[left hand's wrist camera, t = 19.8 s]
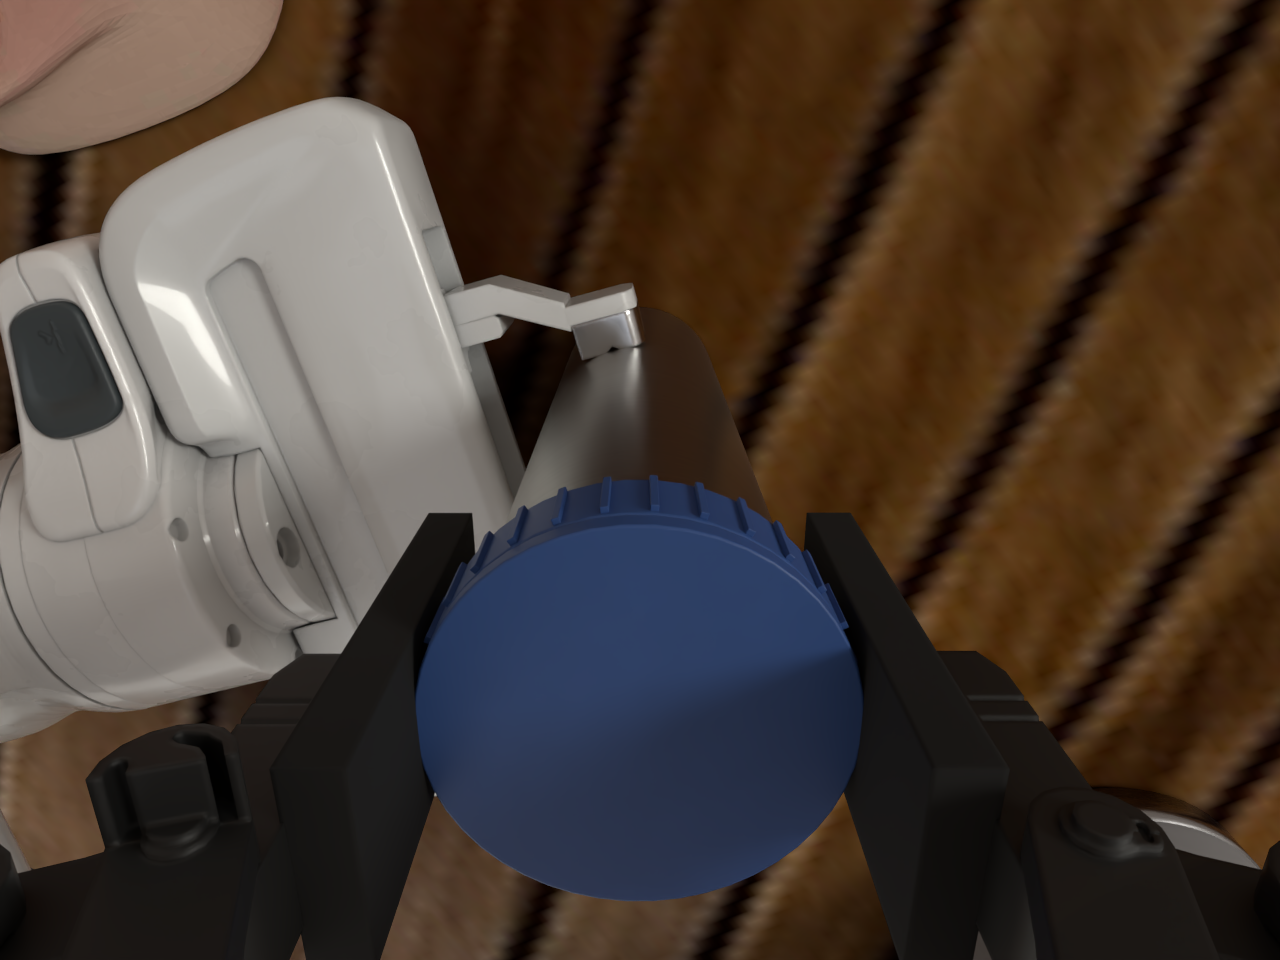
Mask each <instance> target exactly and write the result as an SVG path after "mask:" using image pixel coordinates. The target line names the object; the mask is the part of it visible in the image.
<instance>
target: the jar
mask: <svg viewBox="0 0 1280 960" xmlns="http://www.w3.org/2000/svg"><path fill="white" fill-rule="evenodd" d="M639 309H640V313H641V317H642V321H643V325H644V329H645V334H646V336H645V337H646V341H645V342H643V343H642V344H640V345H637V346H634V347H629V348H623V349H618V348H615V347H613V346H612V347H611V348H610V350H609V351H608V352H607V353H604V354H602V355H600V356H597V357H593V358H589V359H586V360H582V359H581V356H580V353H579V350H578V347H577V343H576V344H575V346H574V348H573V350H572V352H571V354H570V357H569V360H568V362H567V365H566V367H565V370H564V373H563V375H562V378H561V380H560V383H559V386H558V388H557V391H556V393H555V396H554V399H553V401H552V404H551V406H550V409H549V412H548V414H547V417H546V419H545V422H544V425H543V427H542V430H541V432H540V435H539V438H538V440H537V443H536V445H535V448H534V450H533V453H532V456H531V458H530V461H529V463H528V466H527V469H526V471H525V474H524V476H523V479H522V482H521V484H520V487H519V489H518V492H517V495H516V497H515V500H514V502H513V505H512V508H511V510H510V513H509V515H508V518H507V521H506V523H508V522H509V521H511V520H512V519H513V518H515V516H516V514H517V511H518V508H520V507H522V506H523V505H525V506H526V508H527V509H529V508H531V507H533V506H534V505H536V504H538V503H540V502H542V501H544V500H546V499H548V498H551V497H554V496H556V495H557V493H558V489H560V488H562V487H566V489H567V491H569V490H572V489H576V488H580V487H584V486H588V485H592V484H596V483H603V477H611V480H612V481H620V480H649V477H650V475H657V476H658V481H667V482H675V483H682V484H686V485H690V486H695V483H696V482H700V483H703V485H704V489H706V490H709V491H712V492H714V493H717V494H720V495H722V496H725V497H727V498H730V499H732V500H735V501H737V499H738V497H740V498H742V499H744V500H745V501H746V504H747V507H748V508H749V509H751V510H753V511H755V512H757V513H758V514H760V515H761V516H762V517H764V518H765V519H766V520H768V521H769V522H770V523H772V524H773V522H772V519H771V517H770V514H769V512H768V509H767V506H766V504H765V501H764V499H763V496H762V493H761V491H760V488H759V486H758V483H757V480H756V478H755V475H754V473H753V470H752V467H751V465H750V462H749V460H748V457H747V455H746V452H745V449H744V447H743V444H742V442H741V439H740V436H739V434H738V431H737V429H736V426H735V423H734V421H733V418H732V416H731V413H730V410H729V408H728V405H727V403H726V400H725V397H724V395H723V392H722V390H721V387H720V384H719V382H718V379H717V377H716V374H715V371H714V369H713V366H712V364H711V361H710V358H709V356H708V353H707V351H706V349H705V347H704V345H703V343H702V341H701V340H700V338H699V337H698V336H697V335H696V333H695V332H694V331H693V330H692V329H691V328H690V327H689V326H688V325H687V324H686V323H684V322H683V321H681V320H680V319H679V318H677V317H675V316H673V315H671V314H669V313H666V312H664V311H661V310H657V309H653V308H644V307H639ZM506 523H505V524H506Z"/></svg>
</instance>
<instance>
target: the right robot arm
mask: <svg viewBox="0 0 1280 960" xmlns="http://www.w3.org/2000/svg"><path fill="white" fill-rule="evenodd" d="M514 318H517V319H521V320H525V321H530V322H534V323H538V324H542V325H546V326H550V327H554V328H558V329H562V330H566V331H570V332H571V331H573V334H574V337H575V340H576V343H577V347H578V350H579V353H580V356H581V359H582V360H586V359H589V358H593V357H597V356H600V355H602V354H604V353H607V352H608V351H609V350H610V348H611V347H612V346H613V347H615V348H618V349H623V348H629V347H634V346H637V345H640V344H642V343H643V342H645V341H646V337H645V336H646V334H645V329H644V325H643V321H642V317H641V313H640V309H639V305H638V301H637V297H636V294H635V290H634V287H633V283H626V284H620V285H616V286H613V287H609V288H605V289H602V290H598V291H594V292H590V293H587V294H583V295H579V296H576V297H572V298H570V295H569V293H565V292H562V291H558V290H554V289H551V288H547V287H544V286H540V285H536V284H533V283H529V282H525V281H522V280H518V279H515V278H511V277H507V276H504V275H499V276H495V277H491V278H488V279H484V280H481V281H477V282H474V283H470V284H466V285H464V283H463V280H462V277H461V274H460V271H459V268H458V265H457V262H456V259H455V256H454V253H453V250H452V247H451V244H450V241H449V238H448V235H447V232H446V229H445V226H444V223H443V220H442V217H441V214H440V211H439V208H438V205H437V203H436V200H435V197H434V194H433V191H432V188H431V185H430V182H429V179H428V176H427V173H426V170H425V167H424V164H423V161H422V158H421V155H420V152H419V149H418V146H417V143H416V140H415V137H414V134H413V132H412V131H411V129H410V127H409V126H408V125H407V124H406V123H405V122H404V121H402V120H400V119H399V118H397V117H395V116H393V115H391V114H390V113H388V112H386V111H384V110H382V109H381V108H379V107H376V106H374V105H372V104H369V103H367V102H364V101H362V100H359V99H354V98H347V97H329V98H322V99H318V100H314V101H310V102H307V103H304V104H300V105H297V106H294V107H290V108H288V109H285V110H282V111H280V112H277V113H274V114H271V115H269V116H266V117H263V118H261V119H258V120H256V121H253V122H251V123H248V124H246V125H243V126H241V127H239V128H236V129H234V130H231V131H229V132H227V133H225V134H222V135H220V136H218V137H216V138H214V139H212V140H209V141H207V142H205V143H203V144H201V145H199V146H197V147H195V148H193V149H191V150H189V151H187V152H185V153H183V154H181V155H179V156H177V157H175V158H173V159H171V160H169V161H167V162H166V163H164V164H162V165H160V166H158V167H156V168H155V169H153V170H151V171H150V172H148V173H147V174H145V175H143V176H142V177H140V178H139V179H137V180H136V181H135V182H134V183H132V184H131V185H130V186H129V187H128V188H127V189H125V190H124V191H123V192H122V193H121V194H120V195H119V197H118V198H117V199H116V200H115V202H114V203H113V204H112V206H111V207H110V209H109V211H108V213H107V214H106V217H105V219H104V222H103V225H102V228H101V232H100V233H94V234H88V235H81V236H77V237H73V238H69V239H65V240H61V241H57V242H53V243H50V244H46V245H43V246H40V247H37V248H34V249H31V250H28V251H26V252H23V253H20V254H18V255H15V256H13V257H10V258H8V259H6V260H5V261H3V262H2V263H1V264H0V332H1V337H2V341H3V346H4V350H5V355H6V360H7V365H8V369H9V374H10V379H11V385H12V390H13V395H14V401H15V407H16V413H17V420H18V426H19V434H20V442H21V443H20V444H18V445H17V446H15V447H14V448H12V449H11V450H9V451H7V452H6V453H3V454H0V743H3V742H7V741H11V740H15V739H18V738H21V737H24V736H27V735H30V734H34V733H36V732H39V731H41V730H43V729H45V728H47V727H49V726H51V725H53V724H55V723H57V722H58V721H60V720H62V719H63V718H65V717H67V716H68V715H70V714H72V713H74V712H76V711H80V710H87V711H99V712H126V711H135V710H142V709H146V708H150V707H154V706H159V705H163V704H167V703H171V702H175V701H179V700H183V699H188V698H192V697H196V696H200V695H204V694H209V693H213V692H217V691H221V690H226V689H230V688H234V687H239V686H243V685H247V684H251V683H255V682H259V681H264V680H268V679H271V678H272V676H273V675H274V674H275V673H277V672H278V671H279V670H281V669H282V668H284V667H285V666H287V665H288V664H289V663H291V662H292V661H294V660H295V659H297V658H298V657H299V656H301V655H302V654H341V653H342V651H343V650H344V648H345V647H346V645H347V643H348V642H349V640H350V638H351V637H352V635H353V634H354V632H355V630H356V629H357V627H358V626H359V624H360V622H361V621H362V619H363V618H364V616H365V614H366V613H367V611H368V610H369V608H370V606H371V605H372V603H373V602H374V600H375V598H376V597H377V595H378V594H379V592H380V590H381V589H382V587H383V586H384V584H385V582H386V581H387V579H388V577H389V576H390V574H391V573H392V571H393V569H394V568H395V566H396V565H397V563H398V561H399V560H400V558H401V557H402V555H403V553H404V552H405V550H406V549H407V547H408V545H409V544H410V542H411V541H412V539H413V537H414V536H415V534H416V533H417V531H418V529H419V528H420V526H421V525H422V523H423V521H424V520H425V518H426V516H427V515H428V513H472V516H473V529H474V542H475V554H476V552H477V551H478V549H479V547H480V545H481V542H482V540H483V538H484V535H485V534H486V533H487V532H488V531H491V532H492V533H493V534H494V533H495V532H496V531H498V530H499V529H500V528H501V527H502V526H504V525H505V523H506V521H507V518H508V515H509V513H510V510H511V508H512V505H513V502H514V500H515V497H516V495H517V492H518V489H519V487H520V484H521V482H522V479H523V476H524V474H525V471H526V468H525V465H524V462H523V459H522V456H521V453H520V450H519V447H518V444H517V441H516V438H515V435H514V432H513V429H512V426H511V423H510V420H509V417H508V414H507V411H506V408H505V405H504V402H503V399H502V396H501V393H500V390H499V387H498V384H497V381H496V378H495V375H494V372H493V369H492V366H491V363H490V360H489V357H488V354H487V351H486V348H485V345H484V342H486V341H490V340H493V339H497V338H500V337H501V336H502V335H503V334H504V333H505V331H506V330H507V329H508V328H509V327H510V326H511V324H512V323H513V321H514ZM434 796H437V795H436V793H435V795H434ZM0 844H1V845H2V846H3V847H5V848H6V849H7V850H8V851H10V852H11V855H12V858H13V861H14V864H15V867H16V870H17V873H21V872H25V871H30V870H34V869H32V868H31V867H30V866H29V864H28V862H27V860H26V858H25V856H24V854H23V852H22V850H21V848H20V846H19V844H18V842H17V840H16V838H15V836H14V835H13V833H12V831H11V829H10V827H9V825H8V823H7V821H6V819H5V817H4V815H3V813H2V811H1V809H0Z"/></svg>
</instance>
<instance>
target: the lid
mask: <svg viewBox="0 0 1280 960" xmlns="http://www.w3.org/2000/svg"><path fill="white" fill-rule="evenodd" d="M848 627H849V626H848V624H847V622H846V620H845V618H844V615H843V613H842V611H841V609H840V607H839V605H838V602H837V600H836V598H835V596H834V594H833V592H832V590H831V587H830V585H829V583H827V584H825V585H824V583H823V581H822V578H821V576H820V574H819V572H818V569H817V567H816V565H815V563H814V561H813V558H812V556H811V554H810V553H809V552H808V550H805V551H803V552H801V551H800V550H799V548H798V547H797V546H796V545H795V544H794V543H793V542H792V541H791V540H790V539H789V538H788V537H787V536H786V534H785V531H784V529H783V526H782V524H781V523H780V522H778V521H777V520H776V521H775V522H774V523H773V524H772V523H770V522H769V521H768V520H766V519H765V518H764V517H762V516H761V515H760V514H758V513H757V512H755V511H753V510H751V509H749V508H748V507H747V504H746V501H745V500H744V499H742V498H740V497H738V499H737V501H735V500H732V499H730V498H727V497H725V496H722V495H720V494H717V493H714V492H712V491H709V490H706V489H704V485H703V483H700V482H696V483H695V486H690V485H686V484H682V483H675V482H667V481H658V476H657V475H650V477H649V480H620V481H612V480H611V477H603V483H596V484H592V485H588V486H584V487H580V488H576V489H572V490H569V491H567V489H566V487H562V488H560V489H558V493H557V495H556V496H554V497H551V498H548V499H546V500H544V501H542V502H540V503H538V504H536V505H534V506H533V507H531V508H529V509H527V508H526V506H525V505H523V506H522V507H520V508H518V511H517V514H516V516H515V518H513V519H512V520H511V521H509V522H508V523H506V524H505V525H504V526H502V527H501V528H500V529H499V530H498V531H496V532H495V533H494V534H493V533H492V532H491V531H488V532H487V533H486V534H485V535H484V538H483V540H482V542H481V545H480V547H479V549H478V551H477V552H476V554H475V555H474V556H473V558H472V559H471V560H470V562H469V563H468V564H465V563H464V562H462V563H461V564H460V566H459V568H458V570H457V572H456V574H455V576H454V578H453V581H452V583H451V585H450V587H449V589H448V591H447V594H446V596H445V597H444V598H443V600H442V602H441V604H440V606H439V608H438V611H437V613H436V615H435V617H434V619H433V621H432V623H431V626H430V628H429V630H428V632H427V634H426V637H425V639H424V643H427V644H428V647H427V650H426V652H425V655H424V658H423V660H422V663H421V666H420V669H419V674H418V679H417V684H416V688H415V706H416V716H417V725H418V734H419V742H420V751H421V758H422V765H423V768H424V770H425V772H426V775H427V777H428V779H429V781H430V784H431V786H432V788H433V790H434V792H435V793H436V795H437V797H438V798H439V800H440V801H441V803H442V805H443V806H444V808H445V809H446V811H447V812H448V813H449V814H450V816H451V817H452V818H453V819H454V821H455V822H456V823H457V824H458V825H459V827H460V828H461V829H462V830H463V831H464V832H465V833H466V834H467V835H468V836H469V837H470V838H472V839H473V840H474V841H475V842H476V843H477V844H478V845H479V846H480V847H481V848H483V849H484V850H485V851H487V852H488V853H490V854H491V855H492V856H494V857H495V858H496V859H498V860H499V861H500V862H502V863H504V864H506V865H507V866H509V867H511V868H513V869H514V870H516V871H518V872H520V873H521V874H523V875H525V876H528V877H530V878H532V879H535V880H537V881H539V882H542V883H544V884H546V885H549V886H552V887H555V888H558V889H562V890H565V891H568V892H571V893H575V894H580V895H585V896H590V897H595V898H601V899H611V900H621V901H657V900H667V899H677V898H683V897H688V896H693V895H698V894H703V893H707V892H710V891H713V890H716V889H720V888H723V887H726V886H729V885H732V884H734V883H736V882H739V881H741V880H743V879H746V878H748V877H750V876H753V875H755V874H757V873H758V872H760V871H762V870H764V869H765V868H767V867H769V866H771V865H772V864H774V863H776V862H778V861H779V860H780V859H782V858H783V857H784V856H786V855H787V854H788V853H790V852H791V851H793V850H794V849H795V848H797V847H798V846H799V845H800V844H801V843H802V842H803V841H804V840H805V839H806V838H808V837H809V836H810V835H811V834H812V833H813V832H814V831H815V830H816V829H817V828H818V827H819V825H820V824H821V823H822V822H823V821H824V819H825V818H826V817H827V816H828V815H829V813H830V812H831V811H832V810H833V808H834V806H835V805H836V803H837V801H838V800H839V798H840V797H841V795H842V793H843V792H844V790H845V788H846V786H847V784H848V782H849V779H850V777H851V775H852V772H853V770H854V768H855V765H856V761H857V757H858V750H859V742H860V733H861V724H862V715H863V704H864V692H863V687H862V682H861V678H860V673H859V668H858V665H857V663H858V660H857V658H856V656H855V653H854V651H853V649H852V647H851V644H850V642H849V640H848V638H847V635H846V633H845V631H844V629H846V628H848Z"/></svg>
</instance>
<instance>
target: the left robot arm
mask: <svg viewBox="0 0 1280 960" xmlns="http://www.w3.org/2000/svg"><path fill="white" fill-rule="evenodd" d="M805 550H808V552H809V553H810V554H811V556H812V558H813V561H814V563H815V565H816V567H817V569H818V572H819V574H820V576H821V578H822V581H823V583H824V585H825V584H827V583H829V585H830V587H831V590H832V592H833V594H834V596H835V598H836V600H837V602H838V605H839V607H840V609H841V611H842V613H843V615H844V618H845V620H846V622H847V624H848V626H849V627H848V628H846V629H844V631H845V633H846V635H847V638H848V640H849V642H850V644H851V647H852V649H853V651H854V653H855V656H856V658H857V660H858V663H857V665H858V668H859V673H860V678H861V682H862V687H863V692H864V704H863V715H862V724H861V733H860V742H859V750H858V757H857V761H856V765H855V768H854V770H853V772H852V775H851V777H850V779H849V782H848V784H847V786H846V788H845V790H844V794H845V797H846V800H847V803H848V806H849V809H850V812H851V815H852V818H853V821H854V824H855V827H856V830H857V833H858V836H859V840H860V843H861V846H862V849H863V852H864V855H865V858H866V861H867V864H868V867H869V870H870V873H871V876H872V879H873V882H874V885H875V888H876V891H877V894H878V897H879V900H880V903H881V906H882V909H883V912H884V915H885V918H886V921H887V924H888V927H889V930H890V933H891V936H892V940H893V943H894V946H895V949H896V952H897V955H898V958H899V960H1280V841H1278V842H1277V843H1276V844H1275V845H1273V846H1272V847H1271V848H1270V849H1269V852H1268V855H1267V858H1266V861H1265V863H1264V866H1263V869H1262V870H1261V869H1260V868H1259V866H1258V865H1257V864H1256V863H1255V862H1254V860H1253V859H1252V858H1251V857H1250V856H1249V855H1248V854H1247V853H1246V852H1245V850H1244V849H1243V848H1242V847H1241V846H1240V845H1239V844H1238V843H1237V842H1236V840H1235V839H1234V838H1233V837H1232V836H1231V835H1230V834H1229V833H1228V832H1227V831H1226V830H1225V829H1224V828H1223V827H1222V826H1221V825H1220V823H1218V822H1217V821H1216V820H1215V819H1213V818H1212V817H1211V816H1209V815H1208V814H1206V813H1205V812H1203V811H1202V810H1200V809H1198V808H1197V807H1195V806H1193V805H1190V804H1188V803H1186V802H1184V801H1182V800H1179V799H1176V798H1173V797H1170V796H1167V795H1163V794H1159V793H1155V792H1151V791H1144V790H1138V789H1126V788H1097V789H1092V788H1091V787H1090V785H1089V784H1088V783H1087V781H1086V780H1085V779H1084V777H1083V776H1082V775H1081V773H1080V772H1079V770H1078V769H1077V768H1076V766H1075V765H1074V764H1073V762H1072V761H1071V760H1070V758H1069V757H1068V756H1067V754H1066V753H1065V751H1064V750H1063V749H1062V747H1061V746H1060V745H1059V743H1058V742H1057V741H1056V739H1055V738H1054V737H1053V735H1052V734H1051V732H1050V731H1049V730H1048V728H1047V727H1046V726H1045V724H1044V723H1043V722H1042V721H1039V719H1038V718H1039V716H1038V715H1037V713H1036V712H1035V711H1034V709H1033V708H1032V707H1031V705H1030V704H1029V703H1028V701H1024V696H1023V694H1022V693H1021V692H1020V690H1019V689H1018V688H1017V686H1016V685H1015V684H1014V682H1013V681H1012V679H1011V678H1010V677H1009V675H1008V674H1007V673H1006V672H1005V671H1004V670H1003V669H1001V668H1000V667H998V666H997V665H995V664H994V663H992V662H991V661H990V660H988V659H987V658H985V657H984V656H982V655H981V654H979V653H978V652H977V651H936V650H935V648H934V646H933V645H932V643H931V642H930V640H929V638H928V637H927V635H926V634H925V632H924V630H923V629H922V627H921V625H920V624H919V622H918V621H917V619H916V617H915V616H914V614H913V613H912V611H911V609H910V608H909V606H908V605H907V603H906V601H905V600H904V598H903V597H902V595H901V593H900V592H899V590H898V589H897V587H896V585H895V584H894V582H893V581H892V579H891V577H890V576H889V574H888V572H887V571H886V569H885V568H884V566H883V564H882V563H881V561H880V560H879V558H878V556H877V555H876V553H875V552H874V550H873V548H872V547H871V545H870V544H869V542H868V540H867V539H866V537H865V536H864V534H863V532H862V531H861V529H860V527H859V526H858V524H857V523H856V521H855V519H854V518H853V516H852V515H851V513H807V518H806V531H805V544H804V551H805ZM474 555H475V542H474V529H473V516H472V513H428V515H427V516H426V518H425V520H424V521H423V523H422V525H421V526H420V528H419V529H418V531H417V533H416V534H415V536H414V537H413V539H412V541H411V542H410V544H409V545H408V547H407V549H406V550H405V552H404V553H403V555H402V557H401V558H400V560H399V561H398V563H397V565H396V566H395V568H394V569H393V571H392V573H391V574H390V576H389V577H388V579H387V581H386V582H385V584H384V586H383V587H382V589H381V590H380V592H379V594H378V595H377V597H376V598H375V600H374V602H373V603H372V605H371V606H370V608H369V610H368V611H367V613H366V614H365V616H364V618H363V619H362V621H361V622H360V624H359V626H358V627H357V629H356V630H355V632H354V634H353V635H352V637H351V638H350V640H349V642H348V643H347V645H346V647H345V648H344V650H343V651H342V653H341V654H302V655H301V656H299V657H298V658H297V659H295V660H294V661H292V662H291V663H289V664H288V665H287V666H285V667H284V668H282V669H281V670H279V671H278V672H277V673H275V674H274V675H273V676H272V678H271V679H270V680H269V682H268V683H267V684H266V686H265V687H264V688H263V690H262V691H261V693H260V694H259V695H258V697H257V698H256V703H255V704H252V705H251V706H250V708H249V709H248V710H247V712H246V713H245V714H244V716H243V717H242V719H241V724H237V725H236V727H235V728H234V729H233V731H232V732H231V733H230V732H229V731H227V730H226V729H225V728H223V727H218V726H214V725H209V724H205V723H201V724H185V725H176V726H172V727H168V728H164V729H161V730H157V731H153V732H149V733H147V734H145V735H143V736H141V737H139V738H136V739H134V740H132V741H130V742H128V743H126V744H123V745H122V746H120V747H119V748H117V749H116V750H115V751H113V752H112V753H111V754H109V755H108V756H106V757H105V758H104V759H102V760H101V761H100V762H99V763H98V764H97V765H96V767H95V768H94V769H93V771H92V772H91V773H90V774H89V776H88V777H87V778H86V784H87V787H88V790H89V794H90V797H91V801H92V804H93V808H94V811H95V815H96V818H97V821H98V825H99V828H100V832H101V835H102V839H103V842H104V845H105V850H104V852H102V853H99V854H96V855H92V856H89V857H86V858H82V859H77V860H73V861H69V862H64V863H60V864H56V865H51V866H47V867H43V868H38V869H34V870H30V871H25V872H21V873H17V870H16V867H15V864H14V861H13V858H12V855H11V852H10V851H8V850H7V849H6V848H5V847H3V846H2V845H1V844H0V960H289V959H290V957H291V955H292V952H293V950H294V948H295V946H296V943H297V941H298V939H299V937H300V934H301V936H302V941H303V946H304V951H305V956H306V960H380V958H381V955H382V952H383V949H384V946H385V943H386V940H387V937H388V934H389V931H390V928H391V925H392V922H393V919H394V916H395V913H396V910H397V907H398V904H399V901H400V898H401V895H402V892H403V889H404V885H405V882H406V879H407V876H408V873H409V870H410V867H411V864H412V861H413V858H414V855H415V852H416V849H417V846H418V843H419V840H420V837H421V834H422V831H423V828H424V825H425V822H426V819H427V816H428V813H429V810H430V807H431V804H432V801H433V798H434V795H435V792H434V790H433V788H432V786H431V784H430V781H429V779H428V777H427V775H426V772H425V770H424V768H423V765H422V758H421V751H420V742H419V734H418V725H417V716H416V706H415V688H416V684H417V679H418V674H419V669H420V666H421V663H422V660H423V658H424V655H425V652H426V650H427V647H428V644H427V643H424V639H425V637H426V634H427V632H428V630H429V628H430V626H431V623H432V621H433V619H434V617H435V615H436V613H437V611H438V608H439V606H440V604H441V602H442V600H443V598H444V597H445V596H446V594H447V591H448V589H449V587H450V585H451V583H452V581H453V578H454V576H455V574H456V572H457V570H458V568H459V566H460V564H461V563H462V562H464V563H465V564H468V563H469V562H470V560H471V559H472V558H473V556H474Z"/></svg>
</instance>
